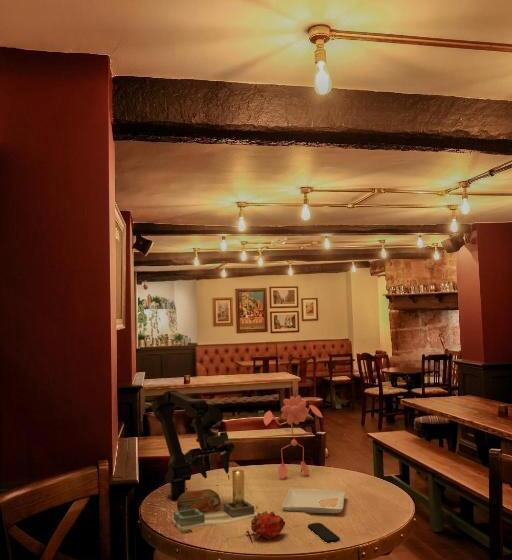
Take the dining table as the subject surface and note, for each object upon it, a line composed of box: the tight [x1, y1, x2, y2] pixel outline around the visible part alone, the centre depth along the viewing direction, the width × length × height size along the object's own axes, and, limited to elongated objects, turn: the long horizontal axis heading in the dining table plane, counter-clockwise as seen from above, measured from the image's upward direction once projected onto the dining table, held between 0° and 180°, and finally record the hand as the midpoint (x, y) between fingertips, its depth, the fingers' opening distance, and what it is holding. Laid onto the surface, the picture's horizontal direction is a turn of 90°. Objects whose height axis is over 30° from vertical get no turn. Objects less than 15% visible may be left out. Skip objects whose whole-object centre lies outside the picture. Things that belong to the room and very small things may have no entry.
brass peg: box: [231, 469, 246, 509], centre depth 198 cm, size 4×4×14 cm
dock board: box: [171, 499, 258, 534], centre depth 193 cm, size 12×28×4 cm, turn 115°
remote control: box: [307, 522, 341, 544], centre depth 178 cm, size 5×2×15 cm
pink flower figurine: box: [263, 395, 323, 480], centre depth 243 cm, size 15×26×35 cm, turn 107°
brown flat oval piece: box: [176, 488, 221, 514], centre depth 199 cm, size 15×3×8 cm, turn 105°
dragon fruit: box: [250, 510, 286, 541], centre depth 177 cm, size 8×8×12 cm
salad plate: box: [281, 488, 347, 515], centre depth 206 cm, size 21×21×3 cm
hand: (216, 475), depth 201 cm, fingers open, 9 cm apart
